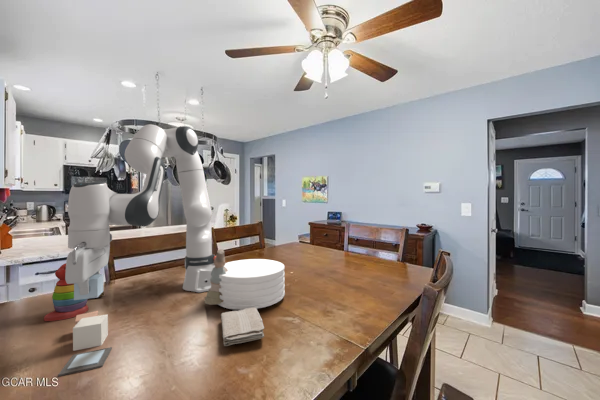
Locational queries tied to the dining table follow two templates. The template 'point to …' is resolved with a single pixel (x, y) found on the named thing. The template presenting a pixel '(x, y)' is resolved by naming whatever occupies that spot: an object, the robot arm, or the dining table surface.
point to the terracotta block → (85, 316)
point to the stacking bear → (65, 299)
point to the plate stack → (252, 284)
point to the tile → (85, 361)
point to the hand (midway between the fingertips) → (89, 289)
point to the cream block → (90, 332)
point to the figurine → (216, 279)
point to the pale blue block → (95, 288)
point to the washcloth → (241, 326)
